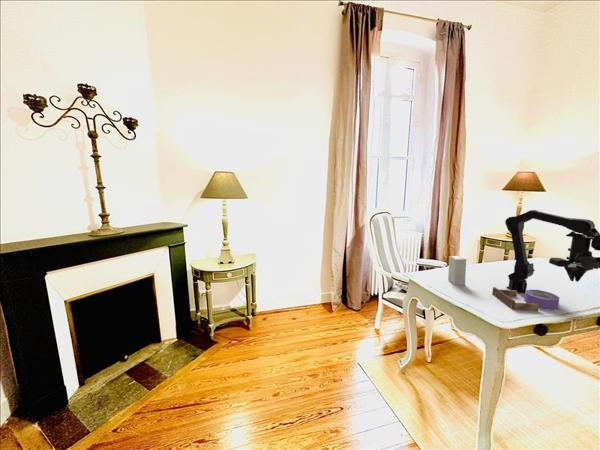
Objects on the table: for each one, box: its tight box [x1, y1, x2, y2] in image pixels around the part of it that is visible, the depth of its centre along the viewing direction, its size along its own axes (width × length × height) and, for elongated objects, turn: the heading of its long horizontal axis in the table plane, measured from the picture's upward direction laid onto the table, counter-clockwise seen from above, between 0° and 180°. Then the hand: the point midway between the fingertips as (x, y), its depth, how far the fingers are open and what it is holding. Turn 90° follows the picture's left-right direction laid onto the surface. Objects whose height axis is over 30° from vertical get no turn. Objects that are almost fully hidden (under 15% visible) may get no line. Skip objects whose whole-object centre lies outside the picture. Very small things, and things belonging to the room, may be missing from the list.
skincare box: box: [447, 255, 467, 286], centre depth 149 cm, size 8×6×15 cm
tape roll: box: [523, 289, 560, 311], centre depth 122 cm, size 12×12×5 cm
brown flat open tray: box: [491, 286, 540, 312], centre depth 124 cm, size 10×16×4 cm, turn 170°
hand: (574, 281), depth 119 cm, fingers closed
